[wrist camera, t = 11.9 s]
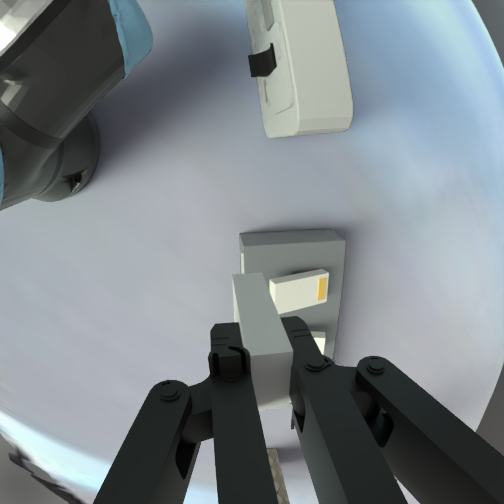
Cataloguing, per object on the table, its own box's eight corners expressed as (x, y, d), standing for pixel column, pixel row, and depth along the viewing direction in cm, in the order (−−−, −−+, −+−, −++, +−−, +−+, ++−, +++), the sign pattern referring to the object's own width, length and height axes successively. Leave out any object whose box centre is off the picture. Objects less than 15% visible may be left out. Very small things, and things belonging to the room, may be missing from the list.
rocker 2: (269, 352, 46) (268, 359, 44) (270, 329, 44) (268, 335, 43) (322, 355, 44) (322, 362, 43) (325, 331, 43) (325, 338, 41)
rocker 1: (269, 309, 41) (275, 315, 39) (269, 279, 39) (275, 284, 38) (320, 297, 43) (327, 302, 42) (322, 268, 42) (329, 273, 40)
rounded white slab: (222, -28, 31) (231, -99, 15) (272, -30, 32) (302, -96, 15) (248, 141, 41) (274, 137, 24) (301, 135, 42) (357, 130, 25)
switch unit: (244, 387, 55) (248, 412, 49) (237, 233, 45) (241, 248, 39) (318, 377, 57) (328, 400, 51) (332, 228, 47) (350, 242, 41)
